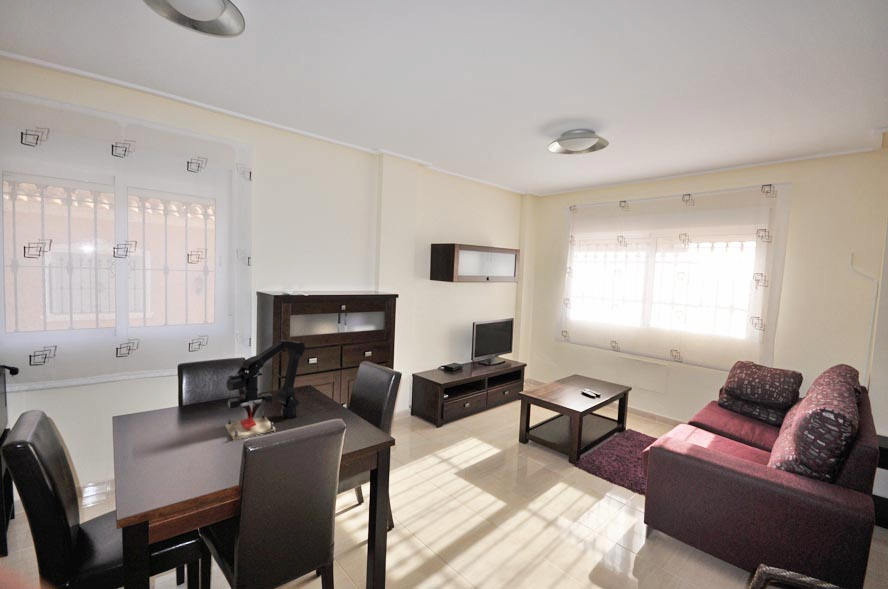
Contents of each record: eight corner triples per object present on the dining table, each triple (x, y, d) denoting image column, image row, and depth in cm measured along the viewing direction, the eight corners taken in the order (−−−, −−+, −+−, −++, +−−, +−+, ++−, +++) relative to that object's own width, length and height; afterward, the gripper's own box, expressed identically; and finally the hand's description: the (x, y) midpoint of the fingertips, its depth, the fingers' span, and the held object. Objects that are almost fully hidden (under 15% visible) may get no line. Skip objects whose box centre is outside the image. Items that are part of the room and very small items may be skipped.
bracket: (240, 423, 192) (237, 407, 191) (250, 419, 195) (247, 404, 194) (245, 428, 182) (242, 411, 182) (256, 425, 185) (253, 408, 185)
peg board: (265, 419, 201) (265, 410, 201) (275, 431, 187) (275, 422, 187) (225, 426, 190) (225, 417, 190) (233, 440, 176) (233, 431, 176)
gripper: (267, 378, 199) (267, 408, 200) (225, 384, 188) (225, 416, 189) (273, 384, 191) (273, 416, 192) (230, 390, 179) (230, 424, 180)
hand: (250, 417), depth 188 cm, fingers closed on bracket
